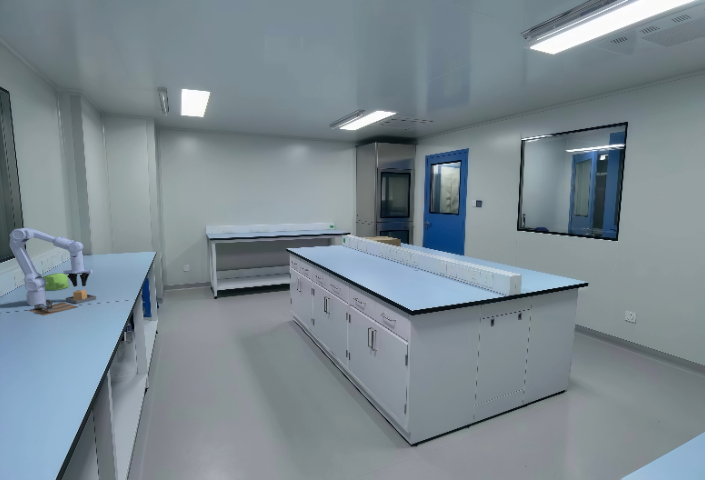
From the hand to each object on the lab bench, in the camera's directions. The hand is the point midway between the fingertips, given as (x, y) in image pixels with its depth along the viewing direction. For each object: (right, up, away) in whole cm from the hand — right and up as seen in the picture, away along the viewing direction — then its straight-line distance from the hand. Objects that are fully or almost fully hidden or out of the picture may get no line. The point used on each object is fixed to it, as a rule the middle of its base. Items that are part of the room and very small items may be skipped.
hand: (79, 286), depth 211 cm
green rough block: (-40, -6, +32) cm, 51 cm away
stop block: (0, -9, +1) cm, 9 cm away
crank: (-6, -11, -17) cm, 21 cm away
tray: (0, -9, +1) cm, 9 cm away
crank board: (-4, -11, -14) cm, 18 cm away
